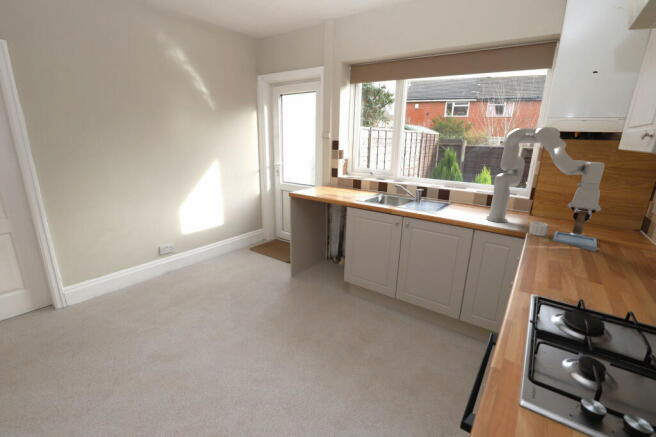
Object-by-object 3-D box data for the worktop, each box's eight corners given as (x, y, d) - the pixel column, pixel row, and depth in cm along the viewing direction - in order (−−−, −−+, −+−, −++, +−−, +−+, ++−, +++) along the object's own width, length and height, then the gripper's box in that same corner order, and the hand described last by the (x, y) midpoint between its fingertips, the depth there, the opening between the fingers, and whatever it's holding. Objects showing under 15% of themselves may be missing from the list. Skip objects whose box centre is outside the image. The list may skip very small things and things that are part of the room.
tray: (552, 242, 163) (553, 238, 163) (554, 234, 177) (555, 231, 176) (595, 251, 152) (597, 247, 152) (595, 242, 166) (596, 238, 165)
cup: (525, 232, 179) (528, 221, 177) (538, 233, 179) (541, 221, 177) (534, 237, 171) (537, 225, 169) (548, 237, 171) (551, 225, 169)
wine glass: (570, 234, 178) (576, 210, 173) (567, 231, 184) (573, 207, 180) (587, 237, 174) (594, 212, 170) (583, 233, 181) (590, 209, 177)
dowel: (570, 231, 165) (575, 210, 161) (577, 231, 165) (583, 210, 162) (576, 234, 161) (582, 212, 158) (583, 234, 161) (589, 212, 158)
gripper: (568, 185, 158) (560, 218, 163) (611, 189, 148) (601, 225, 153) (569, 183, 164) (561, 216, 169) (610, 187, 154) (600, 222, 159)
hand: (580, 219), depth 161 cm, fingers closed on dowel, 4 cm apart
